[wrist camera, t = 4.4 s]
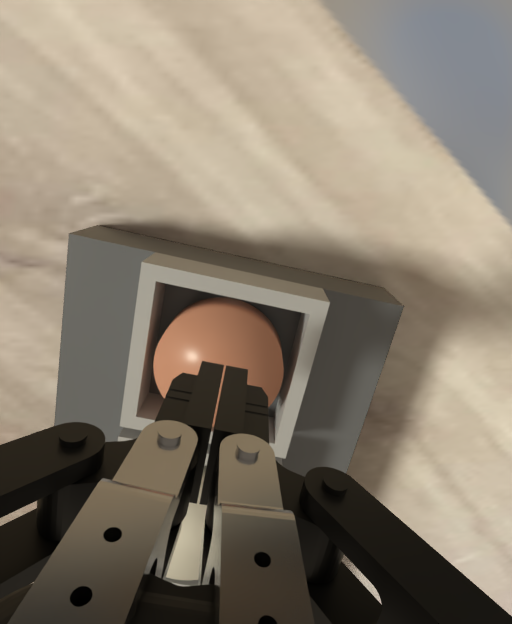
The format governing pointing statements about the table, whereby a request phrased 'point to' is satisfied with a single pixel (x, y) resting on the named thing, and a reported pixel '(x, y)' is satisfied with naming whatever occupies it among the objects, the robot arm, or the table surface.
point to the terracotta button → (221, 345)
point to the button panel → (210, 284)
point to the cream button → (189, 542)
